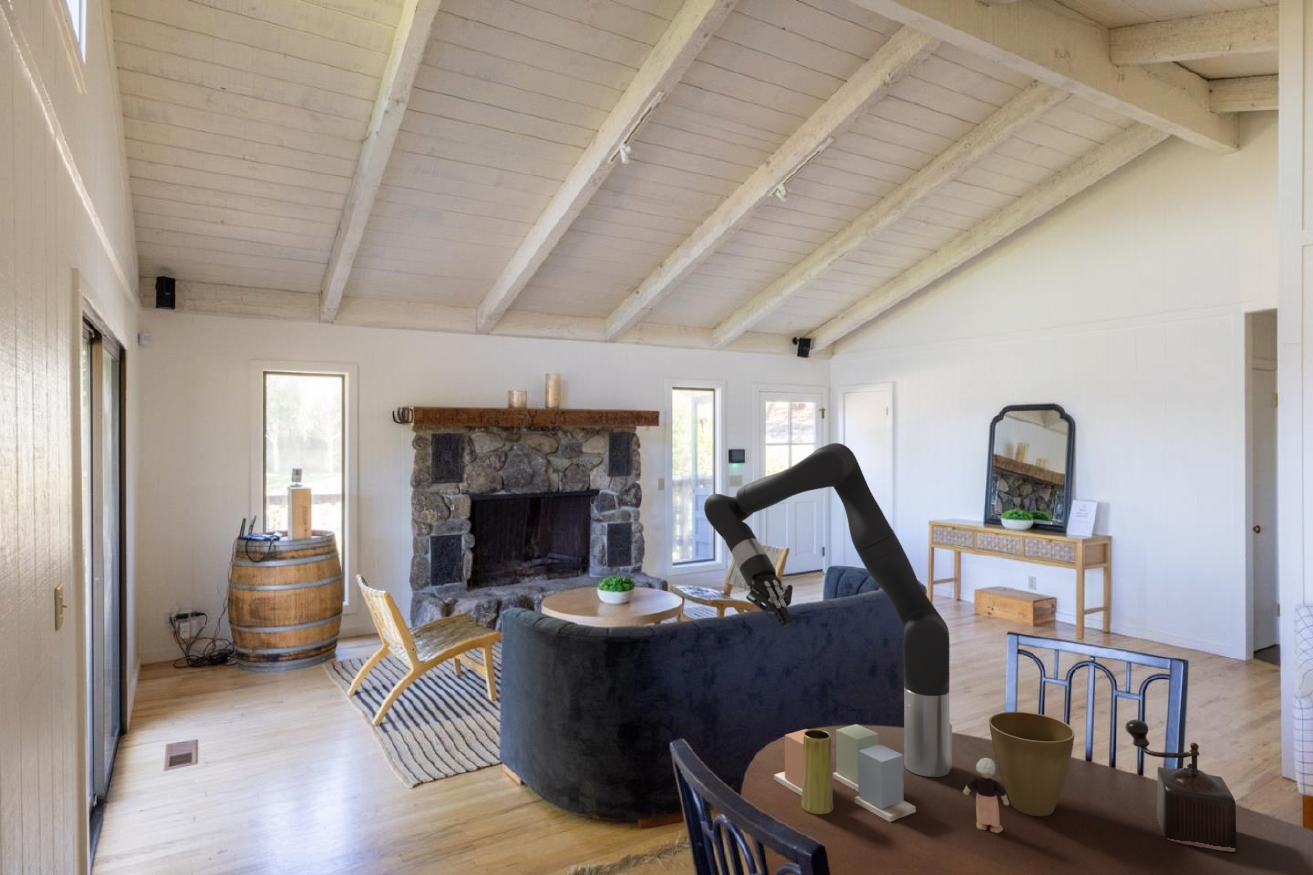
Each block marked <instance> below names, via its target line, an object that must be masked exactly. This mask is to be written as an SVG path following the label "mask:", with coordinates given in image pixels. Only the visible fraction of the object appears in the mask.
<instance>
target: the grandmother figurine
mask: <svg viewBox="0 0 1313 875" xmlns="http://www.w3.org/2000/svg"><path fill="white" fill-rule="evenodd" d="M975 767H976V768H975V771H977V772H978V773H979V775H980V776H981V777H980V776H978V777H973V778H971V779H970V780H968V781H967V782H966V783H965V787H964V789H963V791H962V792H963V794H964V795H965V796H968V795H970V792H971V791H976V790H977V792H976V798H975V801H976V802H975V810H976V812H975V813H976V828H977V829H978V830H982V831H986V830H987V829H988V826H989V825H990V828H989V832H992V833H995V834H999V833H1001V832H1003V830H1004V828H1003V826H1002V825H1001V824H1000V823H1001V822H1000V811H999V810H1000V809H999V800H998V797H997V794H998V795H999V797H1000V799H1001V801H1002V803H1003V805H1004V806H1009V805H1010V800H1008V799H1009V797H1008V795H1007V792H1006V790H1005V788H1003V787H1002V785H1001V784H1000V783H999V781H997V780H996V779H993V778H992V777H994V776H995V774H996V772H995V771H996V764H995V761H994V760H993V759H991V758H989V757H983V758H980V759H979V760H978V762H977V763H976V765H975Z"/></svg>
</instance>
